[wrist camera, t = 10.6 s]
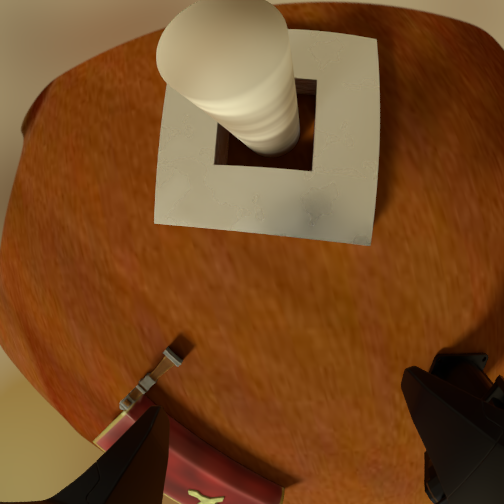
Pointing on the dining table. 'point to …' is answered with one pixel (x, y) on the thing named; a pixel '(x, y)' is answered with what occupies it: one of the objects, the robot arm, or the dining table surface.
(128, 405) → the wooden post with brackets
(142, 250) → the dining table surface
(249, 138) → the ball
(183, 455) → the hardcover book
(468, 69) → the dining table surface
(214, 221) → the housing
